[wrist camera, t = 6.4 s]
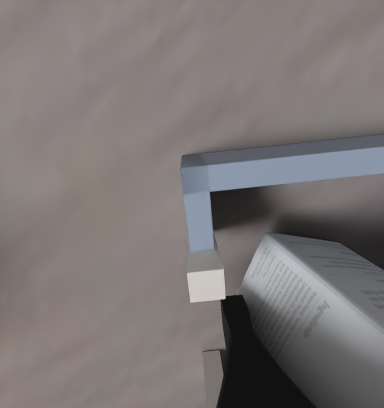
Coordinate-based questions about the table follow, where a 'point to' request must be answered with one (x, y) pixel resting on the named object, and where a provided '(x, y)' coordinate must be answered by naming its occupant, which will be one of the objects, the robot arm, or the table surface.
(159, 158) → the table surface
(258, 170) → the walled box
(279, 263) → the product box
